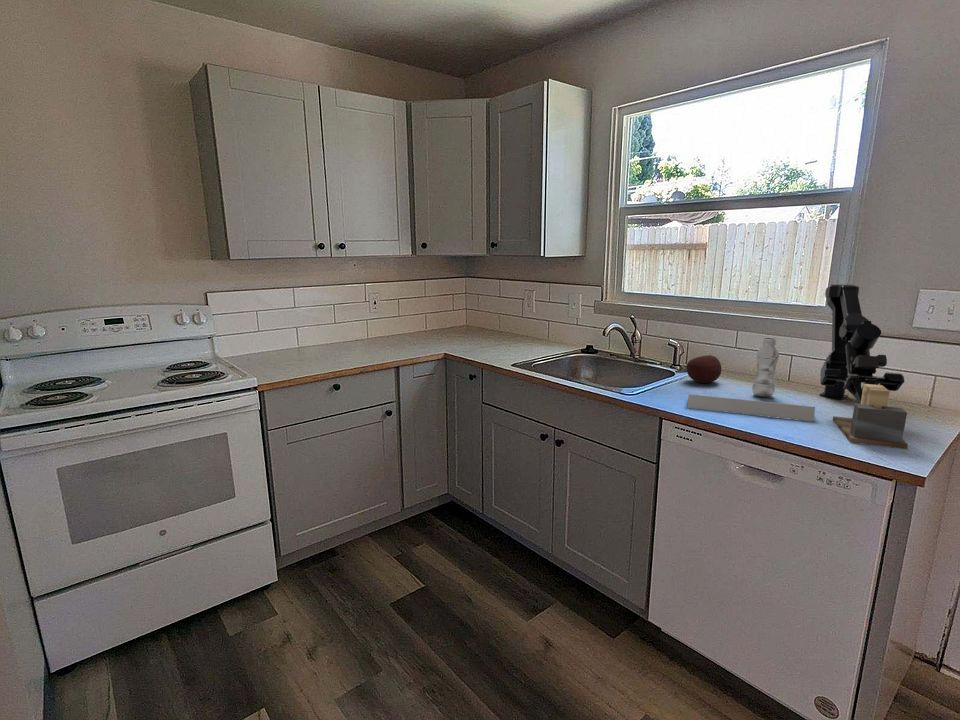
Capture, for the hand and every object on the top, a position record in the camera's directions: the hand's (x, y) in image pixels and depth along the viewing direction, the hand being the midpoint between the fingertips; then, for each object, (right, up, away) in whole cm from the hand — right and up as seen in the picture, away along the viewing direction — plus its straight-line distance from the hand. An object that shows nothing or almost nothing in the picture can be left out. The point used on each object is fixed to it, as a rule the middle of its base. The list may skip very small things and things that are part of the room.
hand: (863, 405), depth 142 cm
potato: (-24, +4, +48) cm, 53 cm away
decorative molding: (-24, -4, +17) cm, 30 cm away
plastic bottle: (-12, 0, +30) cm, 32 cm away
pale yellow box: (-3, -6, -7) cm, 10 cm away
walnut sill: (-3, -7, -5) cm, 9 cm away
